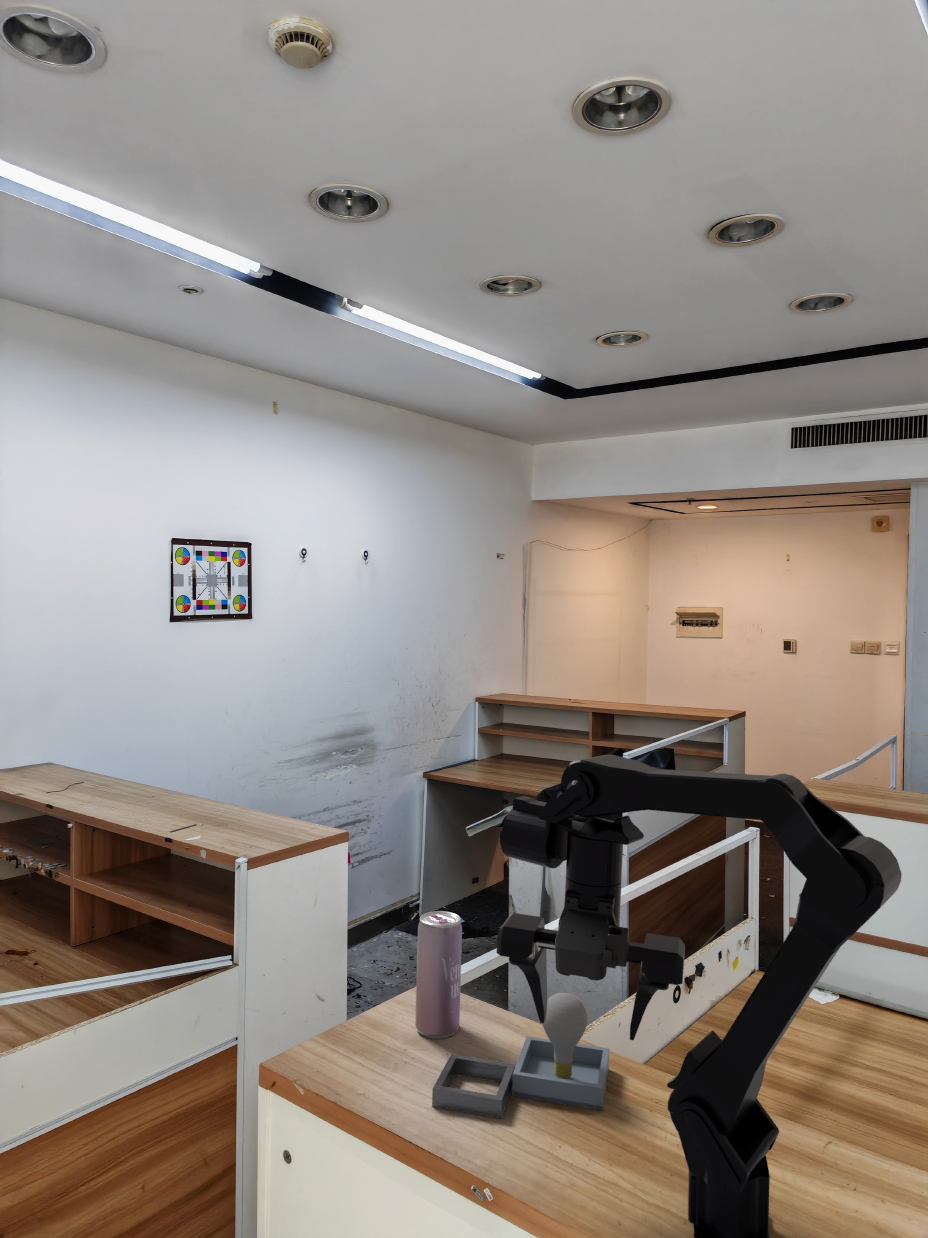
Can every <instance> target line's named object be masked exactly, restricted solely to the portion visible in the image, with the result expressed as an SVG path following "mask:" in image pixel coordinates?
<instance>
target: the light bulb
mask: <svg viewBox="0 0 928 1238" xmlns="http://www.w3.org/2000/svg"><path fill="white" fill-rule="evenodd" d="M541 1024H542V1027H543V1030H544V1032H545V1034H546V1037H547V1038H548V1039H549V1040H550V1042H551V1044H552V1046H553V1048H554V1060H555V1062H554V1064H555V1065H554V1074H555V1075H556V1076H557V1077H558V1078H561V1079H567V1078H569V1077H571V1075H572V1061H573V1051H574V1048H575V1047H576V1045H577V1044H579V1042H580V1041H581V1039H582V1037H583V1035H584V1033H585V1032H586V1029H587V1025H588V1013H587V1011H586V1007H585V1005H584V1003H583V1002H582V1001H581V1000H580V999H579V998H578V997H577V996H575V995H574V994H572V993H568V992H558V993H555V994H553V995H552V996H551V995H550V996H549V998H547V1012H546V1020H545V1022H544V1023H541Z"/></svg>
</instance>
